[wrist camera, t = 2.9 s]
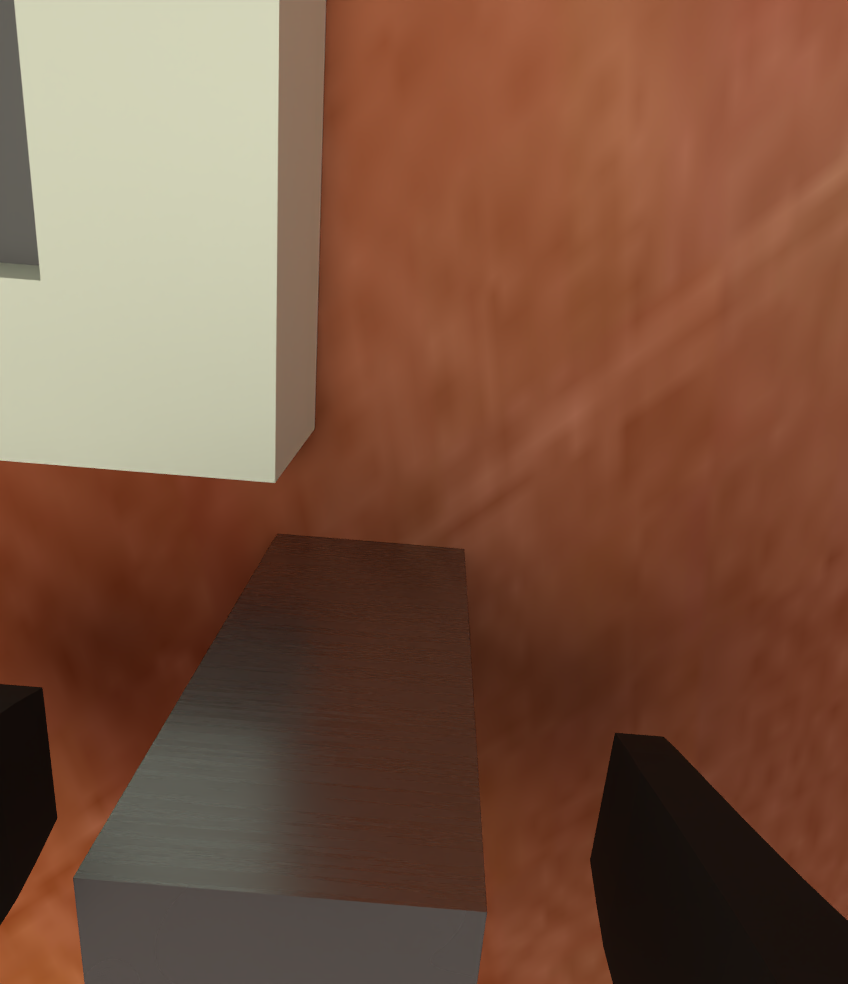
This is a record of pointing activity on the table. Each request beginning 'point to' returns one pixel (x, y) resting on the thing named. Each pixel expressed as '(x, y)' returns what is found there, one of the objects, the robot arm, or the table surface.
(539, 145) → the table surface
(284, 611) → the square bit
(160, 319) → the bore block
